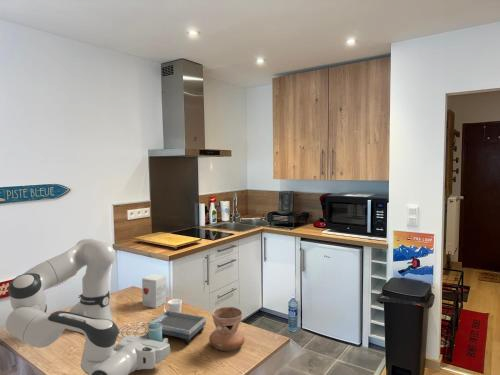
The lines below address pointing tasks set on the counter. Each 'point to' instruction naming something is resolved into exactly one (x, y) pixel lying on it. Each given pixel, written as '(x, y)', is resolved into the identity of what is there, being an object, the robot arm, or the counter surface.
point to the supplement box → (154, 290)
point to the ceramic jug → (226, 329)
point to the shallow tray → (180, 324)
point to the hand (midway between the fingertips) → (156, 337)
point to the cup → (174, 305)
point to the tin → (155, 332)
